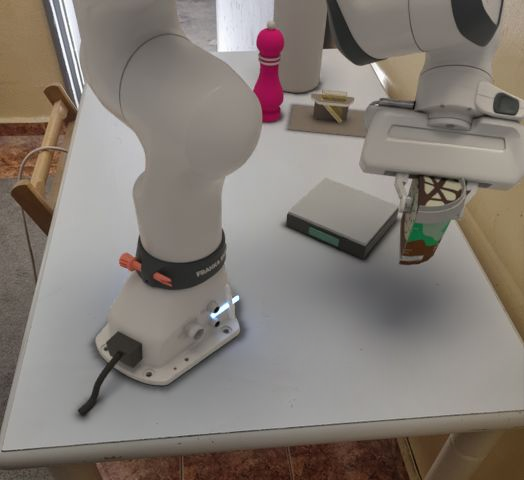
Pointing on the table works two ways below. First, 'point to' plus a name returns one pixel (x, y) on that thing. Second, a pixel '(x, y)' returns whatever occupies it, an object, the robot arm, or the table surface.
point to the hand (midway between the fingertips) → (430, 215)
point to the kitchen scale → (343, 217)
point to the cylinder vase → (300, 42)
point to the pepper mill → (269, 72)
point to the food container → (429, 216)
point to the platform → (329, 116)
